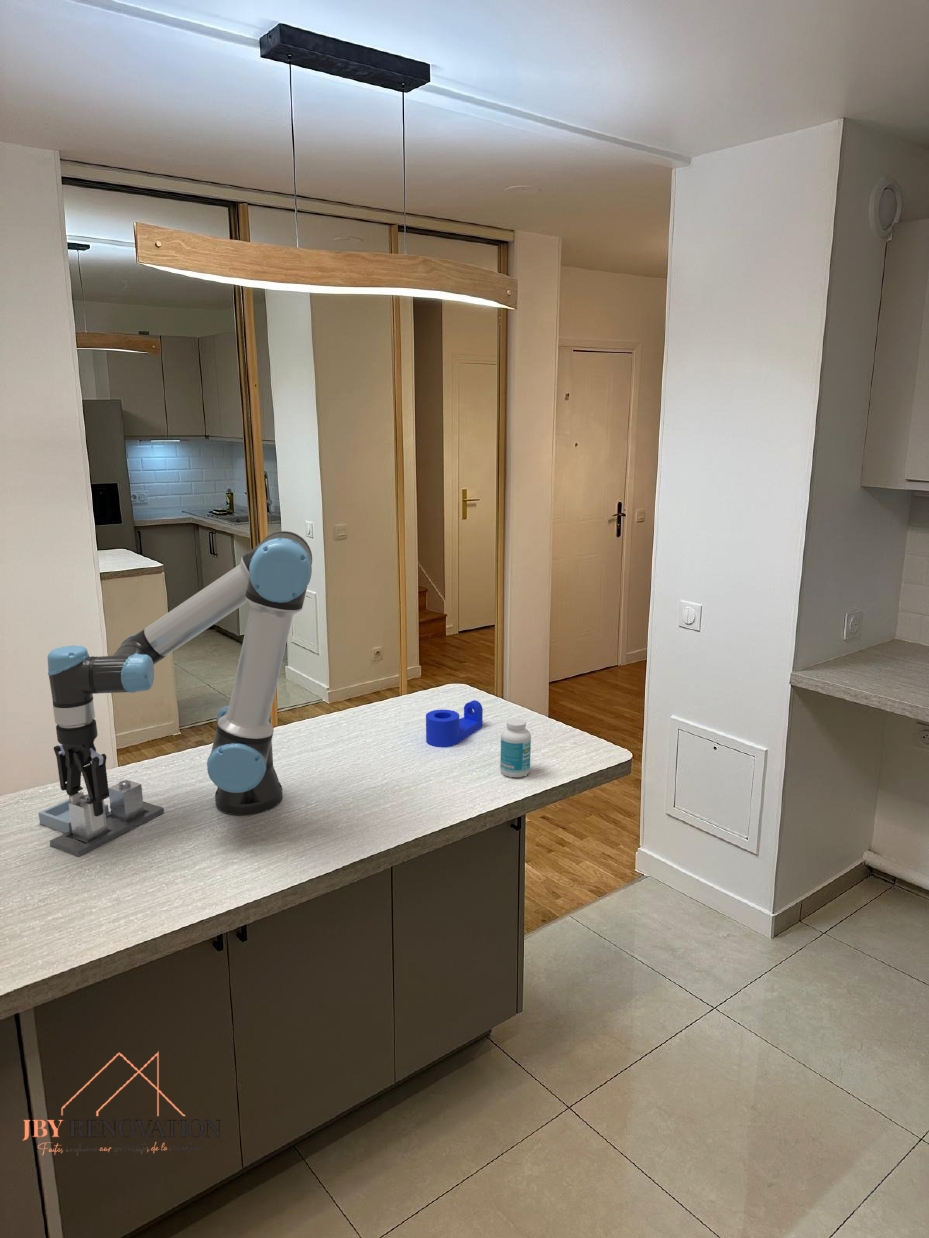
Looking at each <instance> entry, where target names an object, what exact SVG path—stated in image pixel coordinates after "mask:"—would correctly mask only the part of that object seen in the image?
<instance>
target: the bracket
mask: <svg viewBox="0 0 929 1238" xmlns="http://www.w3.org/2000/svg"><path fill="white" fill-rule="evenodd" d="M483 711H484V710H483V706H482V704H481V703H480V702H479V700H475V699H474V700H471V701H468V702H467V703H465V705H464V706H463V717H461V718H460V713H458V712H457V711H455V710H451V709H435V710H431V711H429V712H427V713H426V714H425V742H426V744H427V745H428V746H431V747H434V748H451V747H455V746H456V745H458V744H459V743H461V742H462V741H464V740H466V739H467V738H469V737H470V736H471V735H473V734H474V733H476V732H477V731H479V730H480V729H481V728H483V723H484V722H483V721H484V719H483Z"/></svg>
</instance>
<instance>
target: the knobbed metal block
mask: <svg viewBox="0 0 929 1238" xmlns="http://www.w3.org/2000/svg"><path fill="white" fill-rule="evenodd" d="M104 800H105V799H104ZM104 800H102V803H103V819H104V827H102V828H100V829H98V830H96V831H94V832H93V831H91V826H90V818H89V811H88V803H87V802H88V801H90V798H89V795H88V793H87V794H84V795H83V796H81V797H80V798H78V799H76V800H74V801H71V802H69V803H68V804H69V811H70V818H71V826H72V833H73V838H72V839H74V840H75V839H76V840H77V841H78V840H79V841H80V842H83V843H86V844H87V843H89V842H91V841H93V840H95V839H97V838H99V837H101V836H103V835H105V834H107V833H108V831H107V823H106V815H105V807H104V803H105V801H104Z"/></svg>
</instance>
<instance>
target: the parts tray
mask: <svg viewBox="0 0 929 1238" xmlns="http://www.w3.org/2000/svg"><path fill="white" fill-rule="evenodd" d="M69 802H70V798H68V799H66V800H63V801H61V802H59V803H57V804H54V805H53V806H50V807H47V808H46V809H44V810H41V811H39V812H38V820H39V825H42V826H45V827H47V828H50V829H53V830H55V831H59V832H61V833H63V834H64V833H67V832H69V831H71V830H72V826H71V818H70V811H69V804H68V803H69ZM104 807H105V814H106V813H108V812H110V809H109V804H108V803H105V802H104Z"/></svg>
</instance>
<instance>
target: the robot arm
mask: <svg viewBox="0 0 929 1238" xmlns="http://www.w3.org/2000/svg"><path fill="white" fill-rule="evenodd" d="M312 564H313V555H312V551H311V547H310V545H309V544H308V541H306V540H305V539H304V538H303V537H302V536H300V535H299V534H297V533H295V532H292V531H286V530H280V531H275V532H273V533H271V534H268V535H267V536H266V537H264V539H263V540H261V542H259V543H258V544H257V545H256V546H255V547H254V548H252V549H251V550H250V551H248V552H247V553H245V554H244V555H243V556H241V558H240V563H239V564H238V565H236V566H235V567H233V568H232V569H230V570H229V571H228V572H226V573H225V574H223V575H221V577H219V578H217V579H216V580H214V581H213V582H211V583H210V584H208V585H207V586H205V587H204V588H202V589H201V590H199V591H197V592H196V593H195V594H193V595H192V596H191V597H189V598H187V599H186V600H184V601H183V602H182V603H180V604H179V605H177V606H176V607H174V608H173V609H171V610H170V611H168V612H167V613H166V614H163V616H161V617H160V618H158V619H156V620H155V621H153V622H152V623H151V624H149V625H148V626H146V627H145V628H143V629H142V630H141V631H139V632H137V633H135V634H132V635H130V636H128V637H127V638H126V639H124V641H122V642H121V644H120V646H119V647H118V648H117V650H116V651H115V652H114V653H113V654H112V655H102V656H94V655H93V656H91V655H90V653H89V652H88V649H87V648H86V647H85V646H82V645H64V646H60V647H56V648H54V649H52V650H51V651H50V652H49V653H48V654H47V669H48V673H47V675H48V679H49V684H50V685H49V686H50V693H51V700H52V709H53V717H54V723H55V724H56V725H55V730H56V737H57V742H58V743H59V744H58V745H55V746H54V747H53V751H54V754H55V757H56V762H57V770H58V771H57V772H58V778H59V780H58V781H59V785H60V786H59V787H60V789H61V791H65V792H66V794H67V795H68V796H69V798H68V799H70V802H71V801H74V800H76V799H78V798H80V797H81V796H83V795H85V792H84V791H83V790H84V787H83V786H81V781H82V778H83V781H84V784H85V788H86V791H87V794H88V795H89V798H90V801H88V802H87V803H88V811H89V818H90V826H91V831H93V832H94V831H96V830H98V829H100V828H102V827H104V819H103V803H102V800H106V799H109V789H108V788H109V783H108V775H107V765H106V763H107V759H108V758H107V757H108V756H107V755H106V753H102V754H100V753H98V752H97V748H96V746H95V743H94V742H95V740H96V738H98V725H97V721H96V719H95V718H96V712H95V706H94V696H93V694H94V695H95V694H115V693H116V694H117V693H118V694H119V693H136V692H137V693H138V692H145V691H149V690H151V689H152V687H153V685H154V681H155V680H154V679H155V666H154V665H156V664H157V663H159V662H160V661H162V660H164V658H165V657H167V656H168V655H170V654H171V653H173V652H174V651H177V649H179V648H180V647H182V646H183V645H186V644H187V643H188V642H189V641H191V640H193V639H194V638H195V637H197V636H198V635H200V634H202V633H203V632H204V631H206V630H207V629H209V628H210V627H212V626H213V625H215V624H216V623H218V622H220V621H221V620H222V619H224V618H226V617H227V616H229V615H230V614H231V613H233V612H234V611H236V610H237V609H239V608H241V607H242V606H243V605H245V604H247V603H248V604H249V606H250V609H249V612H248V617H247V622H246V626H245V631H244V636H243V640H242V645H241V649H240V655H239V658H238V663H237V667H236V672H235V678H234V682H233V686H232V691H231V695H230V700H229V705H225V706H223V707H221V708H220V709H218V710H217V713H216V714H217V715H216V716H217V717H216V723H217V724H216V729H215V732H214V733H215V734H214V739H213V742H212V748H211V750H210V751H211V752H210V754H209V755H208V758H207V761H206V765H207V767H206V768H207V769H206V770H207V775H208V777H209V778H210V780H211V782H212V783H213V784H214V785H215V786H216V787H217V789H216V790H215V793H214V798H215V799H214V800H215V806H216V808H217V809H218V810H219V811H220V812H222V813H225V814H229V815H232V816H235V815H236V816H249V815H255V814H260V813H265V812H266V811H269V810H272V809H273V808H275V807H277V806H278V805H280V804H281V803H282V800H283V797H284V796H283V795H284V794H283V786H282V784H281V782H280V780H279V777H278V775H277V772H276V770H275V767H274V757H273V743H272V741H273V736H274V730H275V729H274V727H273V725H272V721H271V720H272V716H271V714H272V713H271V712H272V707H273V703H274V699H275V695H276V691H277V686H278V681H279V676H280V673H281V669H282V665H283V664H282V663H283V660H284V656H285V650H286V647H287V642H288V639H289V638H288V637H289V633H290V629H291V626H292V621H293V617H294V615H295V614H297V613H299V612H301V611H302V609H303V607H304V604H305V603H304V601H305V597H306V594H307V590H308V589H307V588H308V585H309V583H310V582H311V578H312V569H313V568H312V567H313V566H312Z"/></svg>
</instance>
